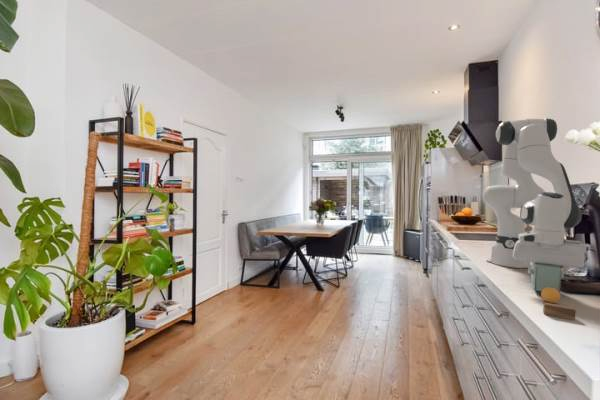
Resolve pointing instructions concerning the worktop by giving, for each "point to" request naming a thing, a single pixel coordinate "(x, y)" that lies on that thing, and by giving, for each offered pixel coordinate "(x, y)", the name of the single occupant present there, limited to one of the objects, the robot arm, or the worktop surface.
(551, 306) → the strip
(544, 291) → the ball
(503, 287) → the worktop surface
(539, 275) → the sage green upright block
